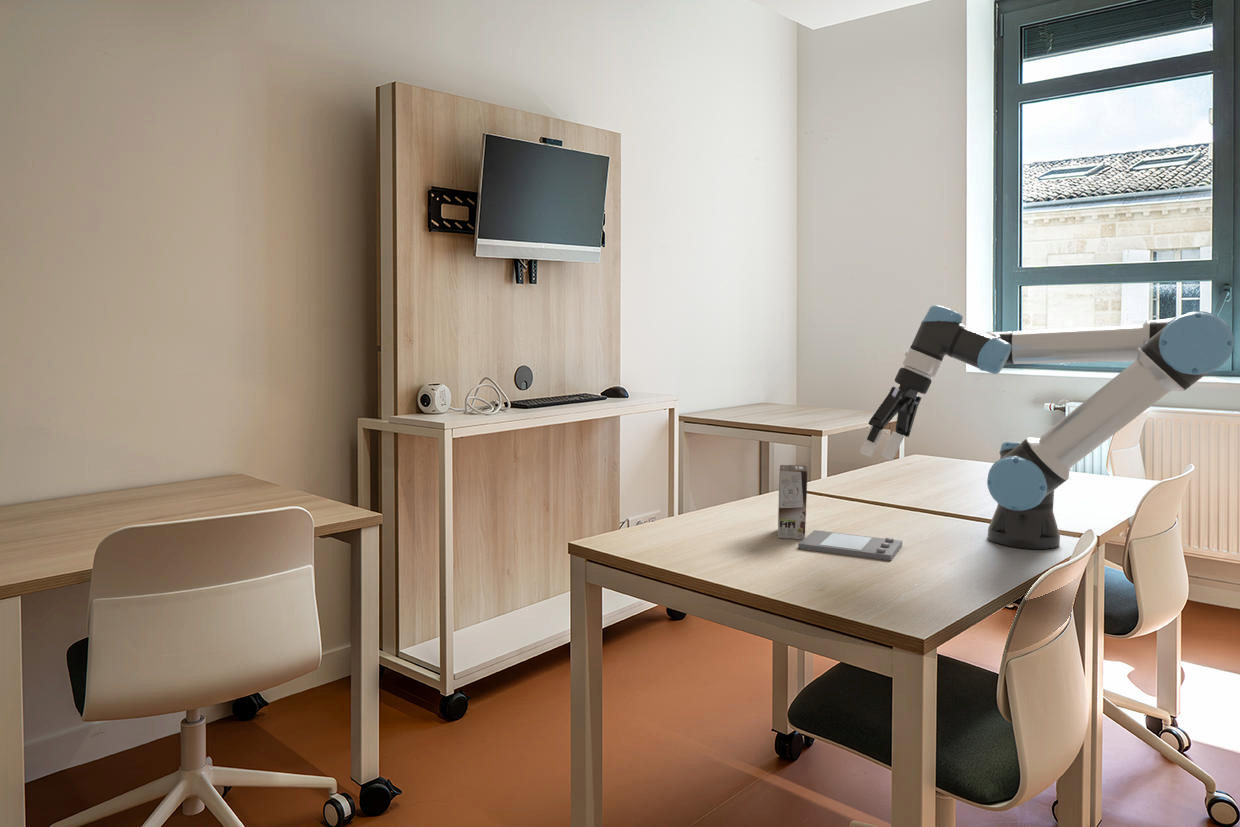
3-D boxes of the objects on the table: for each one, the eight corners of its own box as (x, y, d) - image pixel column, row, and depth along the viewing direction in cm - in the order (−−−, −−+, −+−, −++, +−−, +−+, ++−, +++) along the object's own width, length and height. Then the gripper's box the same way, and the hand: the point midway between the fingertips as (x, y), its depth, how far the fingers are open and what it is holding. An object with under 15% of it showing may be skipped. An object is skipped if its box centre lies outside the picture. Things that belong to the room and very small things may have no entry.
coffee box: (805, 540, 198) (807, 471, 196) (777, 538, 200) (779, 470, 198) (805, 530, 207) (807, 464, 205) (778, 529, 208) (779, 463, 207)
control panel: (902, 545, 194) (902, 538, 193) (890, 560, 181) (891, 552, 181) (814, 535, 203) (814, 527, 203) (798, 548, 190) (798, 540, 190)
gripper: (919, 373, 206) (881, 453, 209) (882, 357, 186) (840, 445, 190) (948, 385, 201) (908, 466, 205) (913, 370, 181) (870, 460, 185)
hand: (876, 456), depth 197 cm, fingers open, 13 cm apart
